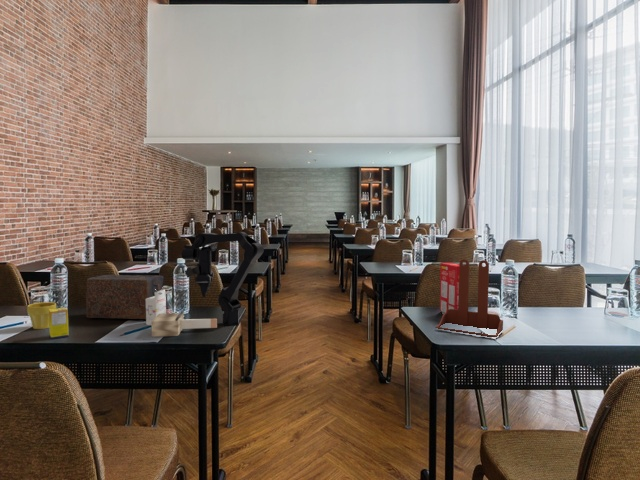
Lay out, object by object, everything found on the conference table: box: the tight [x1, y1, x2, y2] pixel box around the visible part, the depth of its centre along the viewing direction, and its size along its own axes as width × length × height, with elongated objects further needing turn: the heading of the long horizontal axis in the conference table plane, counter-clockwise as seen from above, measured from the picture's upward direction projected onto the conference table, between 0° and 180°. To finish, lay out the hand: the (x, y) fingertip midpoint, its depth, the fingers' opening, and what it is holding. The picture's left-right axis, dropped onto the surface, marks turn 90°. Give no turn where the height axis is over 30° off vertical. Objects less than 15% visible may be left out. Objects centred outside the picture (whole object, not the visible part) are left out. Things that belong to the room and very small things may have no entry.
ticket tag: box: [181, 318, 218, 330], centre depth 179 cm, size 16×1×4 cm, turn 99°
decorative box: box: [85, 274, 164, 320], centre depth 203 cm, size 31×20×20 cm
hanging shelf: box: [435, 258, 504, 337], centre depth 180 cm, size 24×13×30 cm, turn 56°
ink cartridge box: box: [145, 288, 167, 326], centre depth 191 cm, size 9×5×15 cm, turn 168°
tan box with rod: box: [151, 310, 185, 338], centre depth 178 cm, size 10×14×7 cm
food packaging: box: [439, 262, 459, 313], centre depth 209 cm, size 15×5×25 cm, turn 13°
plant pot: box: [26, 301, 57, 330], centre depth 183 cm, size 10×10×10 cm
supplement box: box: [48, 306, 70, 340], centre depth 169 cm, size 6×6×11 cm
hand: (205, 294), depth 195 cm, fingers open, 9 cm apart
